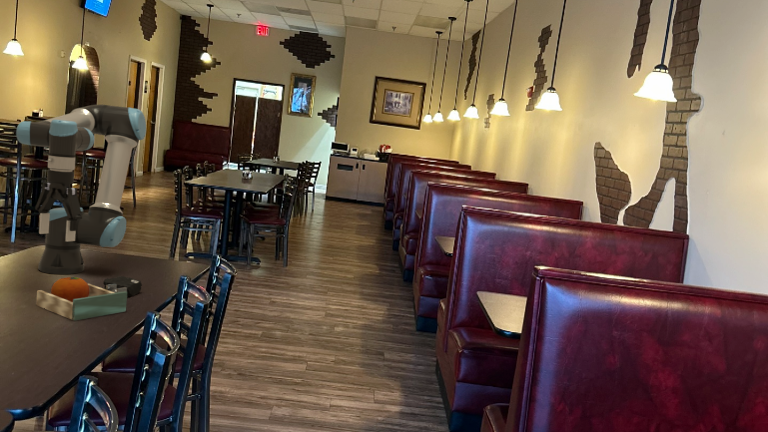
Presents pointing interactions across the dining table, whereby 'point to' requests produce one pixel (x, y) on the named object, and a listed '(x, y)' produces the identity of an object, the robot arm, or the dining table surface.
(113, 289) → the dark grey bracket
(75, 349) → the dining table surface
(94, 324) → the dining table surface
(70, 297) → the fruit
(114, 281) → the rock
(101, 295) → the bay
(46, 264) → the robot arm
